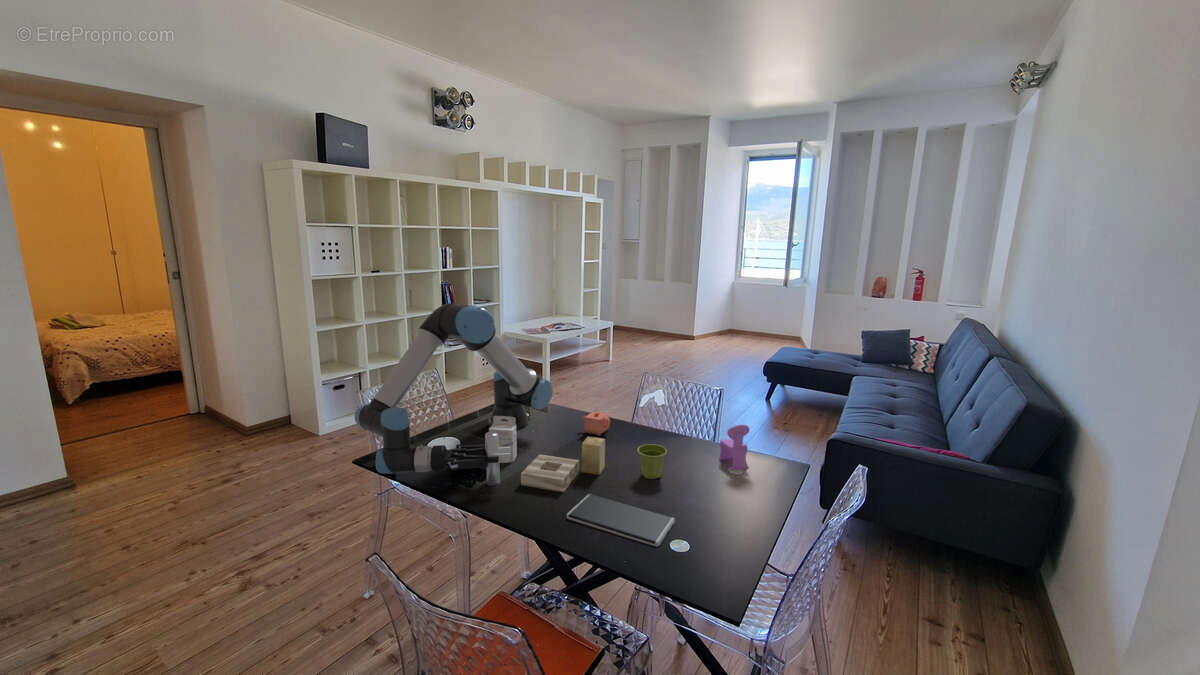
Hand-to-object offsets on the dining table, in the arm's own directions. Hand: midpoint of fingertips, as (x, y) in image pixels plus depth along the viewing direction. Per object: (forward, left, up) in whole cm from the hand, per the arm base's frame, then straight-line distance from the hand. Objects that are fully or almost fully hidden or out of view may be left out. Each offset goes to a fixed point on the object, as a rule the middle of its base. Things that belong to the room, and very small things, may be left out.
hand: (510, 454), depth 152 cm
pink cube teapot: (-47, +13, -9) cm, 49 cm away
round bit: (+2, -5, -9) cm, 10 cm away
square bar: (-16, +22, -9) cm, 29 cm away
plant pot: (-18, +41, -9) cm, 46 cm away
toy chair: (-35, +66, -9) cm, 75 cm away
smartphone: (+10, +38, -10) cm, 41 cm away
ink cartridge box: (-14, -10, -9) cm, 19 cm away
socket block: (-6, +11, -9) cm, 15 cm away
